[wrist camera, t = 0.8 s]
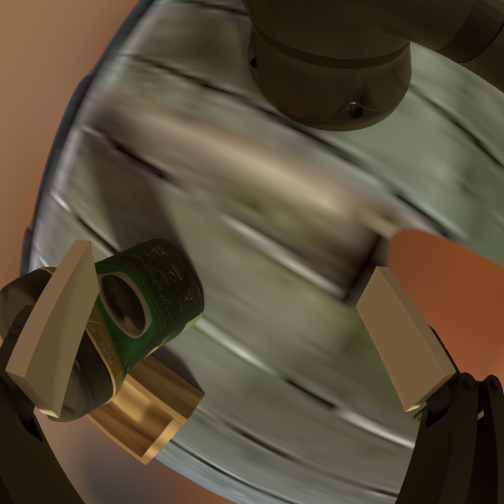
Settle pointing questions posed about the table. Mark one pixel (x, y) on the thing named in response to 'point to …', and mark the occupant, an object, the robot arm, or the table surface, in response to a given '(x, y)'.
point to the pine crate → (147, 409)
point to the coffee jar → (117, 318)
